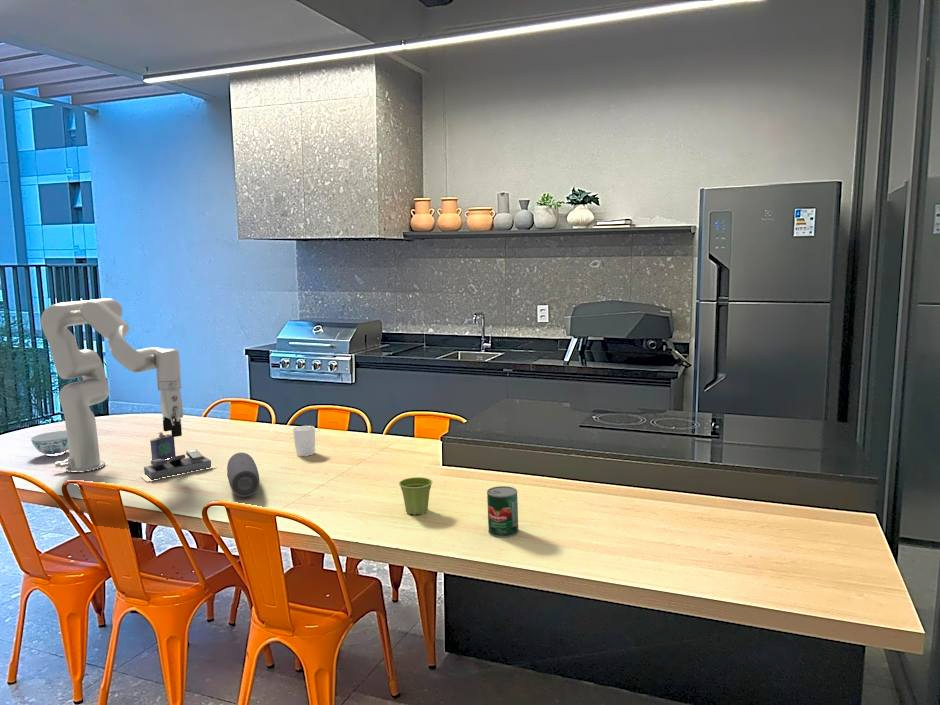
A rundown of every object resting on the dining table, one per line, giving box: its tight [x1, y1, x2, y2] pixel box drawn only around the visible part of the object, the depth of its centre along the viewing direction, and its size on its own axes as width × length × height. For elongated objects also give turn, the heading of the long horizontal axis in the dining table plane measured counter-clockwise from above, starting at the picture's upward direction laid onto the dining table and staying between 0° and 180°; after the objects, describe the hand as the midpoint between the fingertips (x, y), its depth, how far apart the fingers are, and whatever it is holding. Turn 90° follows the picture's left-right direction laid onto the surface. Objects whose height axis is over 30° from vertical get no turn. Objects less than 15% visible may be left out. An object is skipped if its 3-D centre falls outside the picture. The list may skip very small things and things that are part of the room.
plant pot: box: [398, 476, 433, 516], centre depth 202 cm, size 9×9×9 cm
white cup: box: [292, 425, 316, 457], centre depth 266 cm, size 8×8×10 cm
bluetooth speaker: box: [226, 452, 260, 498], centre depth 227 cm, size 23×9×10 cm, turn 21°
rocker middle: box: [168, 454, 186, 462], centre depth 249 cm, size 4×7×1 cm, turn 39°
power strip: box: [143, 455, 212, 480], centre depth 249 cm, size 23×10×3 cm, turn 129°
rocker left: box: [150, 459, 169, 466], centre depth 245 cm, size 4×7×1 cm, turn 39°
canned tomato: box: [486, 485, 520, 538], centre depth 185 cm, size 8×8×11 cm
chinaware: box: [30, 430, 69, 455], centre depth 278 cm, size 15×15×8 cm
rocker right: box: [185, 449, 204, 461], centre depth 253 cm, size 4×7×1 cm, turn 39°
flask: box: [149, 431, 176, 461], centre depth 264 cm, size 9×3×11 cm, turn 146°
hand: (172, 433), depth 247 cm, fingers open, 9 cm apart
